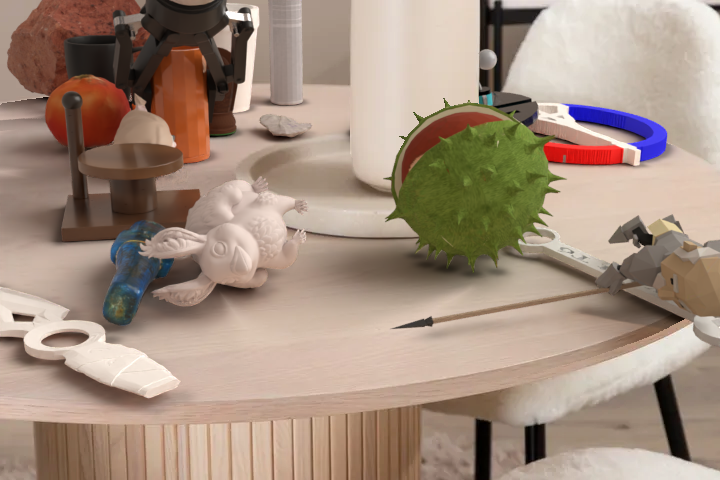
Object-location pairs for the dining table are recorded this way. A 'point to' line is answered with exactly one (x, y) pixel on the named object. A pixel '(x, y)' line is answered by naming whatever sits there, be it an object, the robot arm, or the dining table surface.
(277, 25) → the bottle
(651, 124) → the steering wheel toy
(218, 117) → the chess piece
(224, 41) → the foam cup
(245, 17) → the robot arm
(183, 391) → the dining table surface
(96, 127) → the tomato
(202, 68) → the cup
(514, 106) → the platform
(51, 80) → the rock
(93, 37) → the mug
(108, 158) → the cup stand
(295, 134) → the stone
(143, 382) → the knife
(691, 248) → the toy
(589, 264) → the wrench
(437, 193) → the chestnut
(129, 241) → the figurine
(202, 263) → the figurine
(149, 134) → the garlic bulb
